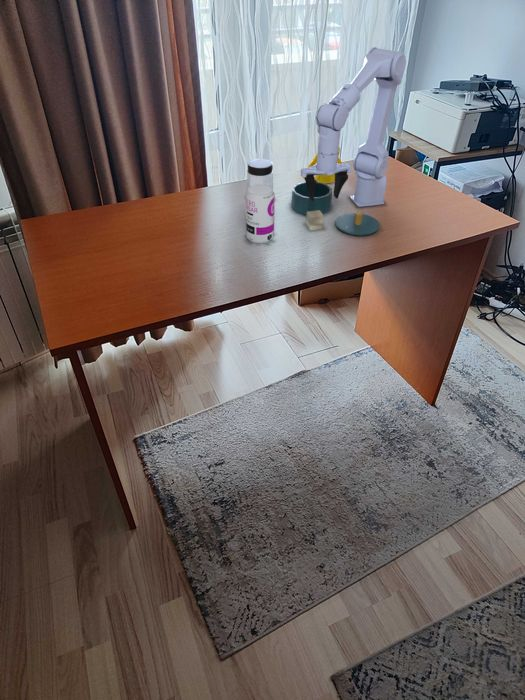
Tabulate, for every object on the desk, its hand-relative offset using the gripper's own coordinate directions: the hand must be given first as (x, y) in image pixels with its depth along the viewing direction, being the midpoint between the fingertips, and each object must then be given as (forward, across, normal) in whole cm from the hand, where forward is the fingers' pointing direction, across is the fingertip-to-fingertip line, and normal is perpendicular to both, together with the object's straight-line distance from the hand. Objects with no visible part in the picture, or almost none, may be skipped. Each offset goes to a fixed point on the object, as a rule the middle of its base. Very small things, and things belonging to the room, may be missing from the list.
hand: (323, 198), depth 141 cm
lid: (+9, +11, -3) cm, 14 cm away
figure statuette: (+9, +12, +32) cm, 35 cm away
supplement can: (+10, -20, -2) cm, 22 cm away
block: (+9, -2, 0) cm, 9 cm away
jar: (+9, -14, +24) cm, 29 cm away
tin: (+9, +1, +14) cm, 16 cm away
